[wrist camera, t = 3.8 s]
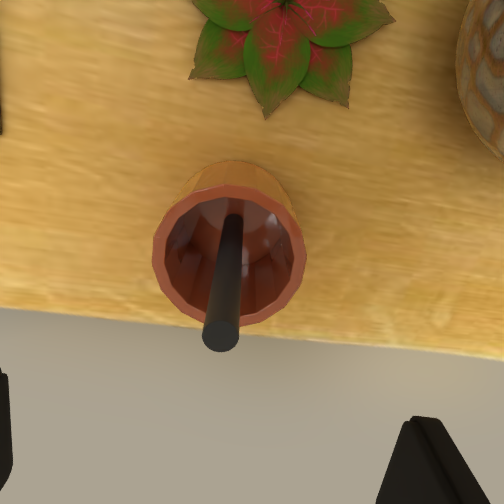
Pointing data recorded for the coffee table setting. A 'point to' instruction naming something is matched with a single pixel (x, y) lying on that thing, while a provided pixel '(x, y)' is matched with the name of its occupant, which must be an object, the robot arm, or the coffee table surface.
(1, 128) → the tablet
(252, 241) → the pen pot
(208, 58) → the red green leafy plant
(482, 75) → the vase
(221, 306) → the stylus
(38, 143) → the coffee table surface
